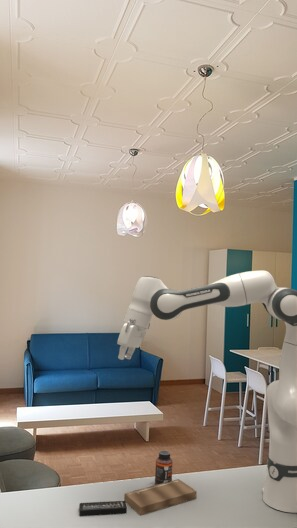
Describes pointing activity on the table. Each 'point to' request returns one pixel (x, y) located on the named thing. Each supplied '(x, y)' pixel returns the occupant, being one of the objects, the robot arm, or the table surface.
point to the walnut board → (159, 496)
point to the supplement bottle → (163, 468)
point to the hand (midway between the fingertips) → (124, 359)
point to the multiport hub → (102, 508)
